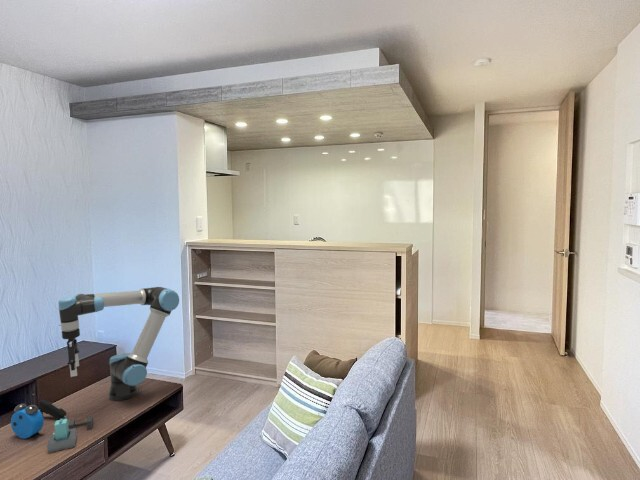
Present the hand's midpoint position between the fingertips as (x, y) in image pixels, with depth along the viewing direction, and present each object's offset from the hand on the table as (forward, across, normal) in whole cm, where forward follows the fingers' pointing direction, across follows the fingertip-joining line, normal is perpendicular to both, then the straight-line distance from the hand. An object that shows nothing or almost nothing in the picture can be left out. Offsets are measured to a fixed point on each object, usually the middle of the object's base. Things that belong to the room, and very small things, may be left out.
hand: (75, 371), depth 206 cm
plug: (+25, +21, -6) cm, 33 cm away
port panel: (+25, +21, -6) cm, 33 cm away
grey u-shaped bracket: (+26, +9, +1) cm, 27 cm away
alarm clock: (+25, +4, -21) cm, 33 cm away
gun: (+26, -9, -12) cm, 30 cm away
